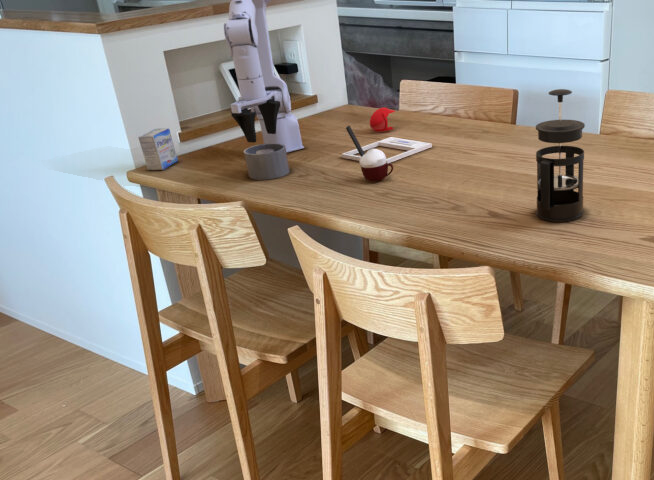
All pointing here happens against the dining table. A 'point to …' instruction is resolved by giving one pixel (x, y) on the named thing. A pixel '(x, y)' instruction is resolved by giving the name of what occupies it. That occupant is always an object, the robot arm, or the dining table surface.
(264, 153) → the coffee pod
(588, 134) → the dining table surface
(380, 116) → the cap
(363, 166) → the cocoa
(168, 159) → the medicine box
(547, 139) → the french press
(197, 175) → the dining table surface
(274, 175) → the bucket
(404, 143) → the photo frame
